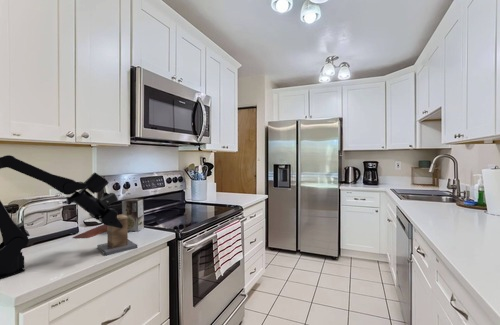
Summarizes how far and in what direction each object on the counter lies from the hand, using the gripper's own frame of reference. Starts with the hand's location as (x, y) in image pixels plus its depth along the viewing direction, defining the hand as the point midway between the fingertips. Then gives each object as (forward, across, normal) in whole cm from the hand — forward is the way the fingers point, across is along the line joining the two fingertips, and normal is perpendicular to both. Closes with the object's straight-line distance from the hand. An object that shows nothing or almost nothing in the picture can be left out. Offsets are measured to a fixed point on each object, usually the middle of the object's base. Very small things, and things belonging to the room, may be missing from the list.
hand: (118, 225), depth 107 cm
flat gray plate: (+7, 0, +7) cm, 10 cm away
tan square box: (+6, 0, +6) cm, 8 cm away
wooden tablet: (+8, +34, +6) cm, 36 cm away
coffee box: (+18, +24, -4) cm, 30 cm away
